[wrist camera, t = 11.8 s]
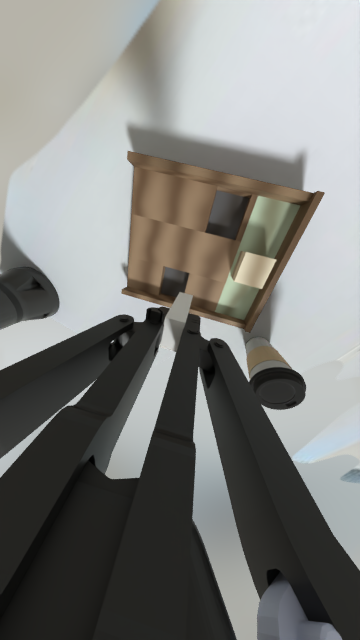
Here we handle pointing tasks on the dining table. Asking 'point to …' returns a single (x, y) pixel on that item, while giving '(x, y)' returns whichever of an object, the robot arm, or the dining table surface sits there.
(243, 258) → the birch block
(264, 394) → the coffee cup
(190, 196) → the box
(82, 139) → the dining table surface
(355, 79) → the dining table surface
